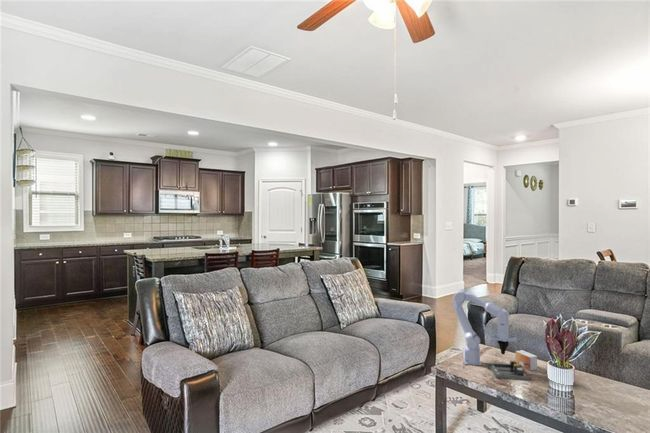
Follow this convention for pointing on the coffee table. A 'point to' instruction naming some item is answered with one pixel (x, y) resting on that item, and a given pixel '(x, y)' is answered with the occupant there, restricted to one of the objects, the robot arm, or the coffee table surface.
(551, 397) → the coffee table surface
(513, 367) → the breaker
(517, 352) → the small box
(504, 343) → the robot arm
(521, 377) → the breaker panel
